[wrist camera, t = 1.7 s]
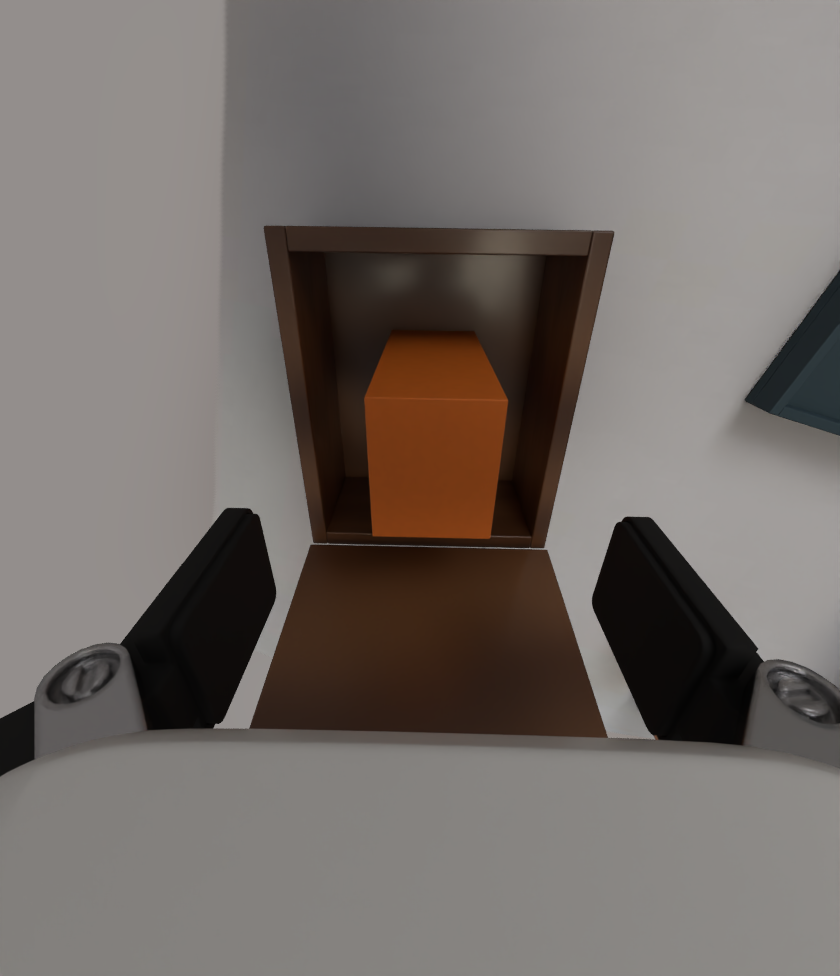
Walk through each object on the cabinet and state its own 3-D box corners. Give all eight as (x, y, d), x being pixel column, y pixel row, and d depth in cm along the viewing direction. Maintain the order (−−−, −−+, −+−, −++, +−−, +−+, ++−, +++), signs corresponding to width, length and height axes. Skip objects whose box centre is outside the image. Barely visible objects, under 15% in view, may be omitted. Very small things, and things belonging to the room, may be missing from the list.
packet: (391, 329, 22) (363, 397, 13) (474, 331, 22) (508, 399, 13) (393, 424, 25) (372, 537, 16) (467, 425, 25) (490, 539, 15)
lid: (150, 1020, 9) (215, 1024, 12) (706, 1038, 9) (633, 1038, 12) (310, 543, 22) (322, 604, 25) (547, 549, 22) (530, 609, 25)
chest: (309, 229, 20) (262, 225, 15) (562, 233, 20) (615, 231, 14) (337, 480, 28) (312, 543, 22) (520, 484, 28) (544, 548, 22)
